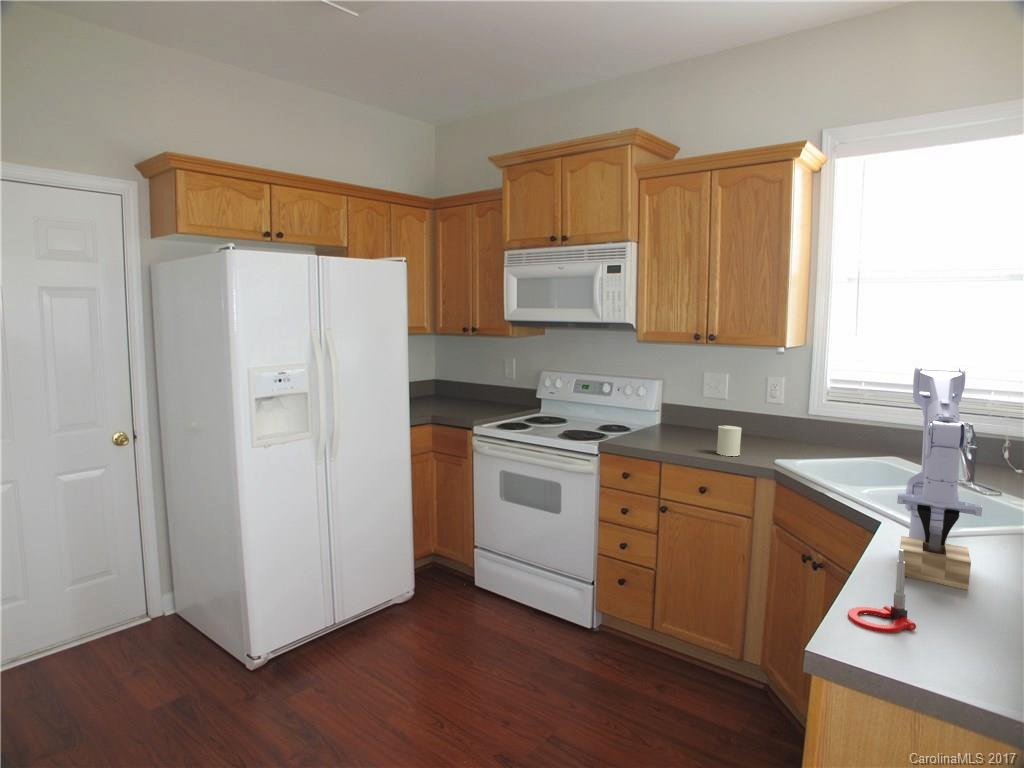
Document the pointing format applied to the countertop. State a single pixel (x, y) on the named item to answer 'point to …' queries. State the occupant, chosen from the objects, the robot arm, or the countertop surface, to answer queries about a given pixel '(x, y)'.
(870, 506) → the countertop surface
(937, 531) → the grey flat piece
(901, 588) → the tow hook
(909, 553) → the slotted wooden block
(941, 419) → the robot arm
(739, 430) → the can
